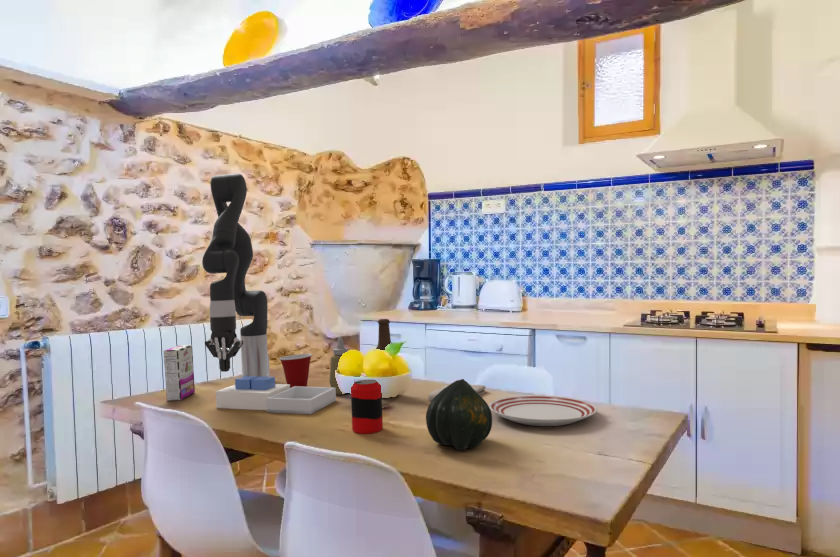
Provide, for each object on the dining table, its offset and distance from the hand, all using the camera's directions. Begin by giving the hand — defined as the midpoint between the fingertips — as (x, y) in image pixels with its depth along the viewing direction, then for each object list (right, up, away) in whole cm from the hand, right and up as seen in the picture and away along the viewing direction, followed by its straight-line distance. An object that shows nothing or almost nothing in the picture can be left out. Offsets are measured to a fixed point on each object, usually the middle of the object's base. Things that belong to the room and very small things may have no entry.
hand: (224, 371), depth 176 cm
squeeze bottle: (+35, -9, +9) cm, 37 cm away
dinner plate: (+92, -8, -28) cm, 96 cm away
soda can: (+47, -9, -34) cm, 59 cm away
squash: (+69, -9, -48) cm, 84 cm away
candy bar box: (-18, -11, +12) cm, 24 cm away
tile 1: (+8, -5, -2) cm, 9 cm away
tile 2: (+13, -5, -3) cm, 14 cm away
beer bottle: (+50, -8, +2) cm, 50 cm away
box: (+25, -9, -7) cm, 28 cm away
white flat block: (+10, -10, -2) cm, 14 cm away
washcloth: (+72, -8, -1) cm, 72 cm away
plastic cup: (+19, -9, +15) cm, 26 cm away
